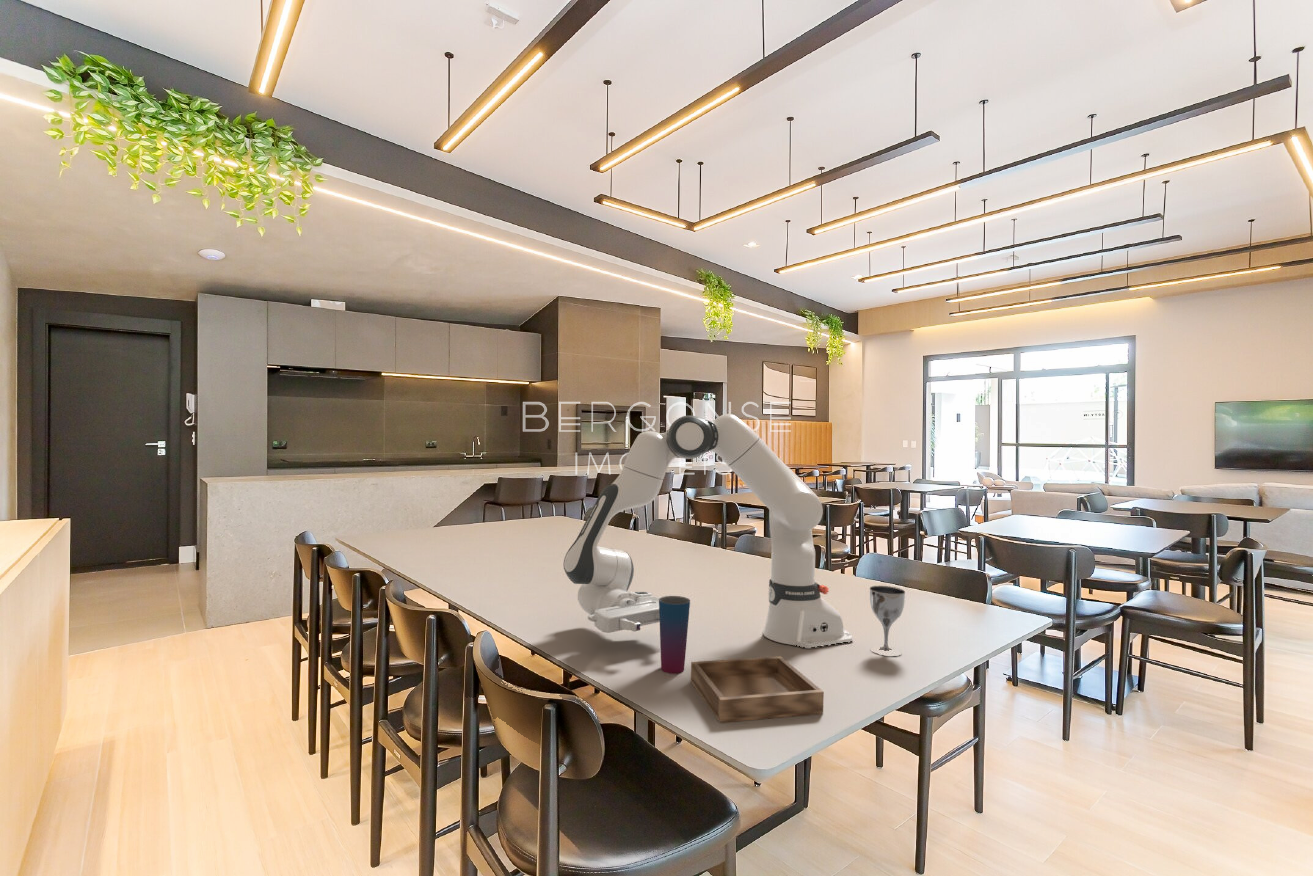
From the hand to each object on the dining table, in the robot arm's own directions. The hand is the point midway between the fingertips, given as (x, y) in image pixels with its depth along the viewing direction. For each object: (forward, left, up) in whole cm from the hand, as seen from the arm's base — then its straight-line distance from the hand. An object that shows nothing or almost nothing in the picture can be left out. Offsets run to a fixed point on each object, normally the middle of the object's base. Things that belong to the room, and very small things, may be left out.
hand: (654, 624), depth 132 cm
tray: (-15, +22, -8) cm, 28 cm away
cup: (-3, +6, -8) cm, 11 cm away
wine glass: (-57, +4, -8) cm, 58 cm away
